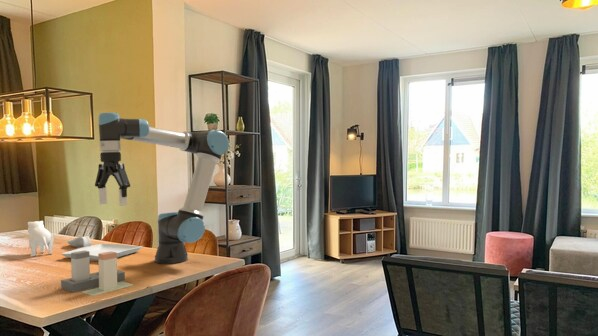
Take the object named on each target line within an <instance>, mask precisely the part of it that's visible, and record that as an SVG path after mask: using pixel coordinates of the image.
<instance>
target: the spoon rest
mask: <svg viewBox="0 0 598 336" xmlns="http://www.w3.org/2000/svg"><path fill="white" fill-rule="evenodd" d="M66 242H67V244H68V245H69V246H71V247H73V248H83V247H87V246H92V245H93V244H92V241H91V237H89V236H88V235H85V236H78V237H75V238H73V239H69V240H67V241H66Z"/></svg>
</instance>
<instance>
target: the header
mask: <svg viewBox="0 0 598 336" xmlns="http://www.w3.org/2000/svg"><path fill="white" fill-rule="evenodd" d="M125 280H126V272H125V271H122V270H118V269H117V283H118V282H123V281H125ZM60 288H61V290H65V291H67V292H70V293H73V294H74V293H77V292H83V291H87V290H91V289H95V288H99V271H96V272H92V273H90V279H86V280H82V281H78V282H74V281H72V277H70V278H64V279H61V280H60Z"/></svg>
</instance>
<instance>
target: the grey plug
mask: <svg viewBox="0 0 598 336" xmlns="http://www.w3.org/2000/svg"><path fill="white" fill-rule="evenodd" d="M90 261H91V260H89V251H85V250H84V251H79V252H73V253H71V258H70V262H71V263H70V266H71V267H70V268H71V270H70V272H71V276H70V278H72V281H74V282H78V281H82V280H86V279H90V274H91V273H90V270H91V269H90Z"/></svg>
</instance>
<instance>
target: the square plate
mask: <svg viewBox="0 0 598 336" xmlns="http://www.w3.org/2000/svg"><path fill="white" fill-rule="evenodd" d="M142 248H143V246H142V245H130V244H123V243H122V244H119V243H98V244H94V245H93V244H92V246H87V247H83V246H82V247H78V248H75V249H72V250H69V251H66V252H65V251H64V252H61V253H60V254H61V255H62V256H63V257H65V258H67V259H71V253H73V252H79V251H84V250H85V251H89V261H91V262H92V261H93V262H99V256H98V254H99V253H105V252H110V251H113V252H117V259H119V258H121V257H125V256H127V255H131V254H133V253H134V254H135V253H136V252H139V251H140V250H141V249H142Z"/></svg>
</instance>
